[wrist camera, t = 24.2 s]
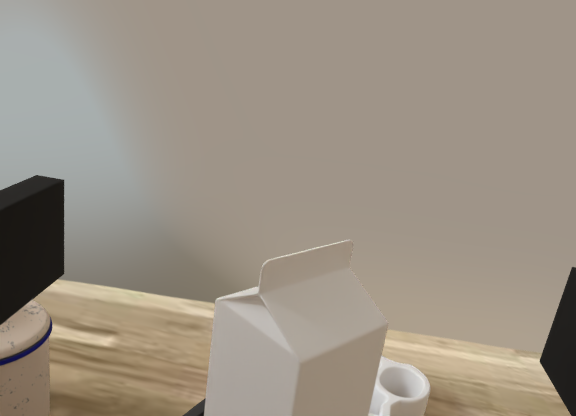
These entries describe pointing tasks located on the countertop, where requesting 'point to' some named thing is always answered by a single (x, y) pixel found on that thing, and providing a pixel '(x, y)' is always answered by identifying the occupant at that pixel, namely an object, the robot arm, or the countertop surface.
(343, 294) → the milk
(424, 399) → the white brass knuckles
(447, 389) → the countertop surface
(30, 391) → the teacup with lid
